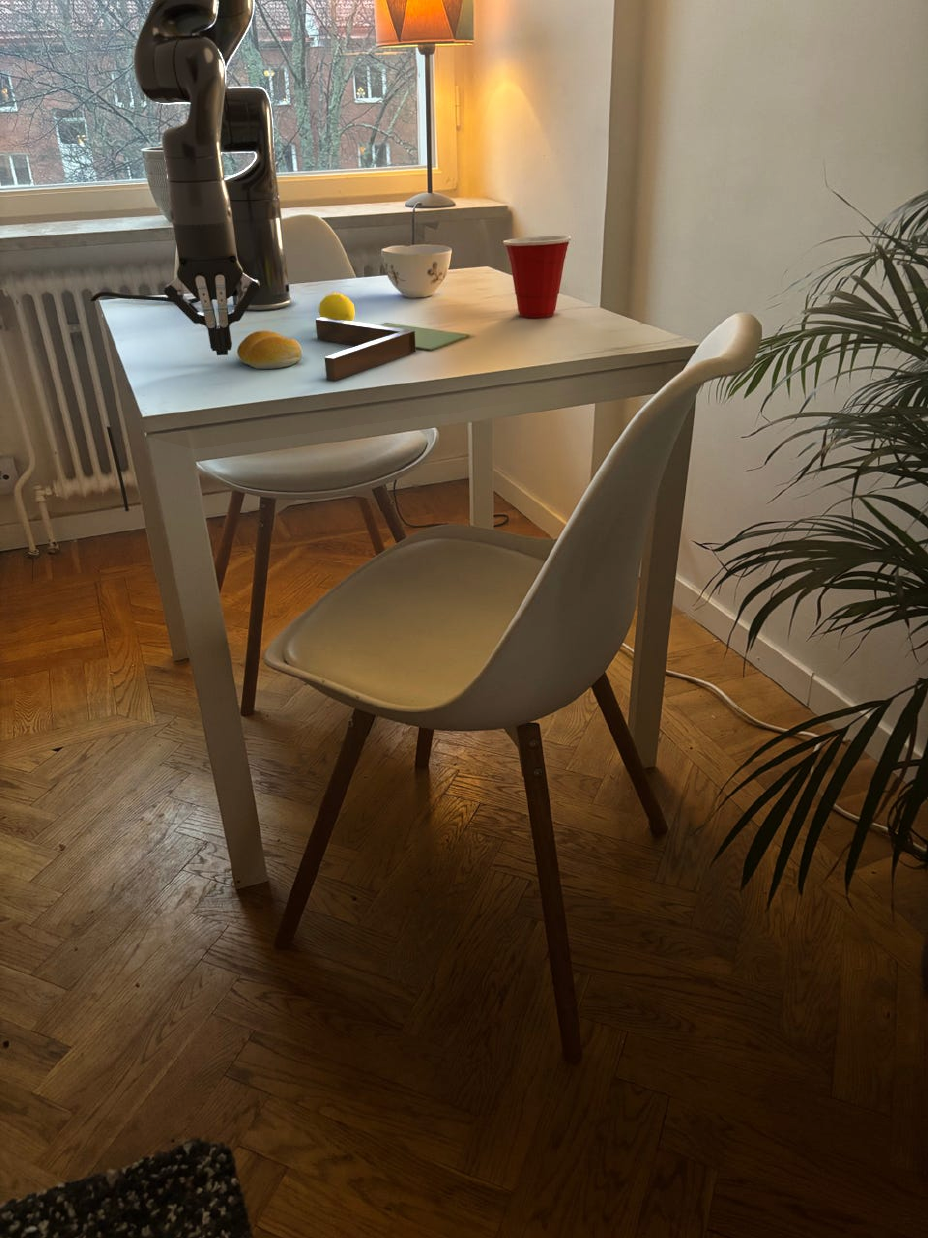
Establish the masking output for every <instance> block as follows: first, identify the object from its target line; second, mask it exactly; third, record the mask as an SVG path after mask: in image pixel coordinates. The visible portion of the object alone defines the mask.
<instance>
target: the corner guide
mask: <svg viewBox="0 0 928 1238" xmlns="http://www.w3.org/2000/svg"><path fill="white" fill-rule="evenodd" d="M378 325H379V324H378ZM378 325H377V324H371V323H364V322H357V321H352V322H350V321H343V320H336V319H329V318H321V317H319V318H315V328H316V329H315V330H316V338H317V339H316V340H318V341H325V342H330V343H337V344H343V345H349V346H354V347H351V348H347V349H344V350H342V351H339V352H335V353H333V354H329V355H327V356H324V368H325V377H326V381H331V382H337V381H340V380H343V379H346V378H349V377H351V376H354V375H357V374H359V373H362V372H365V371H367V370H371V369H373V368H376V367H378V366H381V365H383V364H387V363H389V362H392V361H394V360H398V359H400V358H403V357H406V356H409V355H411V354H414V353H416V350H417V349H415V331H413V330H406V329H399V328H392V327H385V326H378Z"/></svg>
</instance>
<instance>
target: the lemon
mask: <svg viewBox="0 0 928 1238" xmlns="http://www.w3.org/2000/svg"><path fill="white" fill-rule="evenodd" d="M355 313H356V310H355V305H354V303H353V301H351V299H350V298H349V297H348V296H346V295H344V294H343V293H340V292H339V293H338V292H331V293H329V294H325V296H324V297H323V298H322V299H321V300H320V302H319V305H318V315H319V316H320V317H319V318H329V319H336V320H343V321H350V322H354V321H353V320H354V319H355V315H356V314H355Z"/></svg>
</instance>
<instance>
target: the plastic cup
mask: <svg viewBox="0 0 928 1238" xmlns="http://www.w3.org/2000/svg"><path fill="white" fill-rule="evenodd" d="M571 240H572V237H571V236H570V235H539V236H538V235H537V236H526V237H525V236H524V237H516V238H508V239H505V240H504V239H503V241H502V242H503V245H504V246H505V248H506V250H507V254H508V258H509V262H510V268H511V274H512V280H513V287H514V294H515V296H516V303H517V304H516V305H517V311H518V313H519V316H520V317H523V318H526V319H544V318H551V317H553V316H554V315H555V311H556V307H557V301H558V295H559V293H560V287H561V284H562V283H561V282H562V276H563V270H564V266H565V265H564V264H565V259H566V256H567V252H568V247H569V244H570V241H571Z"/></svg>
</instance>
